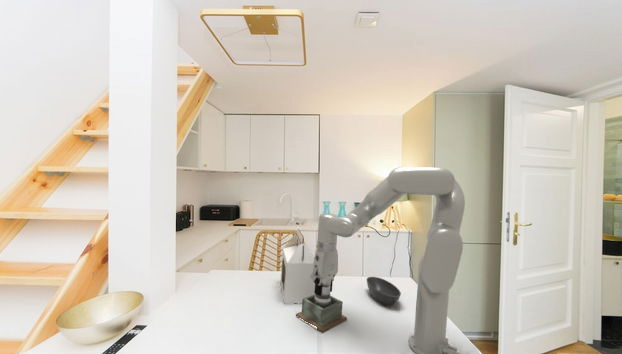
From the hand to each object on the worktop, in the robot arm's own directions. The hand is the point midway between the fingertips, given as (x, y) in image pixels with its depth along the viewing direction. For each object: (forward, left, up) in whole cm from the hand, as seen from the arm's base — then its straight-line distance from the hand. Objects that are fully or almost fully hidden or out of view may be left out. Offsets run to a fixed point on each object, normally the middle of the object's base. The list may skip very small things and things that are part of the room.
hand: (323, 292), depth 103 cm
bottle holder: (0, 0, -10) cm, 10 cm away
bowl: (-6, -35, -11) cm, 37 cm away
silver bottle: (0, 0, -7) cm, 7 cm away
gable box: (+23, -7, -10) cm, 26 cm away
